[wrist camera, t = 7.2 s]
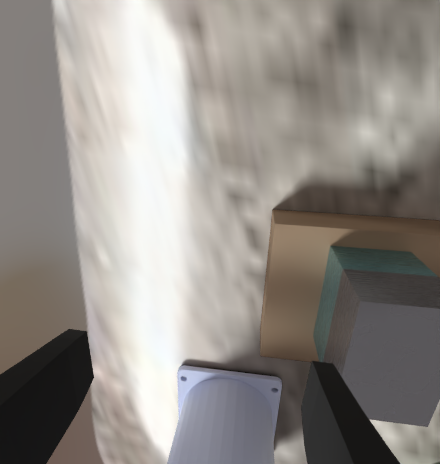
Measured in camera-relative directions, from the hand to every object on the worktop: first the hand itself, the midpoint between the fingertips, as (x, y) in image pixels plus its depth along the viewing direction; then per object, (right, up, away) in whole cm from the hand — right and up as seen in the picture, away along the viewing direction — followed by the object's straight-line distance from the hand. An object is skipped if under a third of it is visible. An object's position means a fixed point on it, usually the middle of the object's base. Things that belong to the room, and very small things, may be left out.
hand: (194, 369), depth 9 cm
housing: (+9, +1, +7) cm, 11 cm away
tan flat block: (+9, +1, +9) cm, 13 cm away
